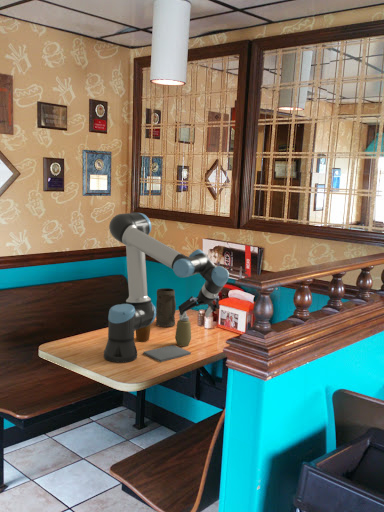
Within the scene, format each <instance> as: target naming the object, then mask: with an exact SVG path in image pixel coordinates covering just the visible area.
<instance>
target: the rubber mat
mask: <svg viewBox="0 0 384 512" xmlns="http://www.w3.org/2000/svg"><path fill="white" fill-rule="evenodd" d="M142 353H143V355H145V356H146V357H149V358H150V359H153V360H156V361H158V362H160V363H162V362H167V361H171V360H174V359H178V358H182V357H186V356H190V355H192V351H189V350H186V349H184V348H182V347H181V346H180V347H179V346H178V345H175V344H170V345H166V346H161V347H158V348H154V349H150V350H145V351H143V352H142Z"/></svg>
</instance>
